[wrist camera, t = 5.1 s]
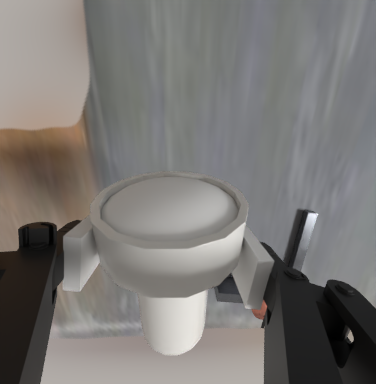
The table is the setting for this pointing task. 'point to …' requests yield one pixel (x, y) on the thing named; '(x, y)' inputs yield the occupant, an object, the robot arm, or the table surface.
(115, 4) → the table surface
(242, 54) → the table surface
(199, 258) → the spotlight
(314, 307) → the robot arm
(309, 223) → the channel
